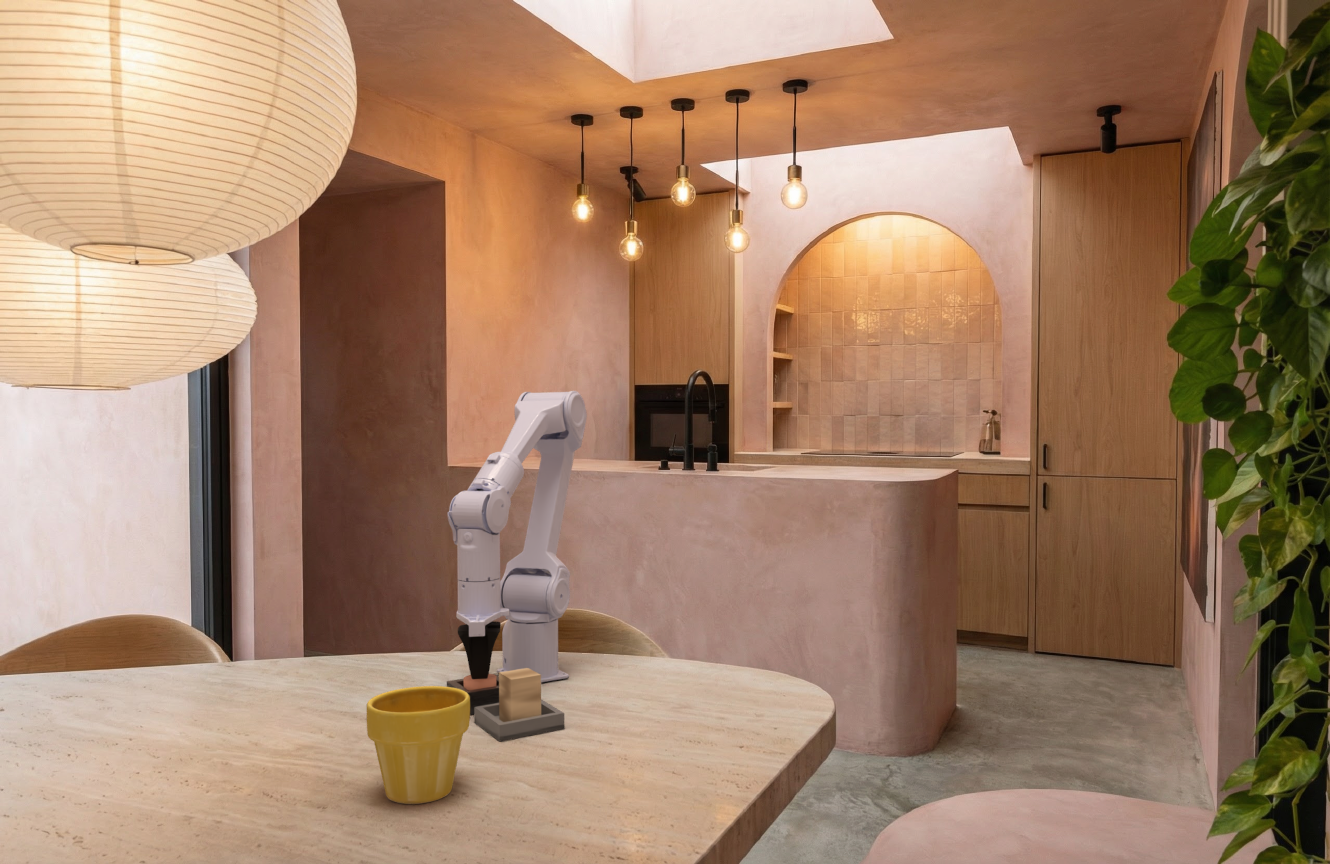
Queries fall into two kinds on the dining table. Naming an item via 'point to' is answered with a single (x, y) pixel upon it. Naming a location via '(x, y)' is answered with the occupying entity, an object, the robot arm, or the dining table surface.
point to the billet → (519, 694)
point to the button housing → (478, 693)
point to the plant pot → (418, 740)
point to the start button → (479, 682)
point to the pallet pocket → (518, 722)
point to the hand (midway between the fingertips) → (479, 677)
